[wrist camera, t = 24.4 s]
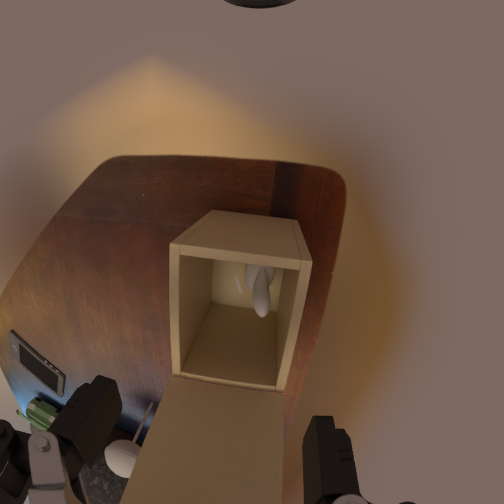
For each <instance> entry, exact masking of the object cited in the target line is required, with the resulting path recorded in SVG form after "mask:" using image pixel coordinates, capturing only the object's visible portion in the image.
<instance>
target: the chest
mask: <svg viewBox="0 0 504 504" xmlns="http://www.w3.org/2000/svg"><path fill="white" fill-rule="evenodd" d="M312 263H313V261H312V258H311V256H310V253H309V250H308V247H307V245H306V242H305V239H304V237H303V234H302V231H301V229H300V226H299V223H298V221H297V220H293V219H285V218H278V217H270V216H262V215H254V214H246V213H237V212H229V211H220V210H211V211H210V212H209V213H208V214H206V215H205V216H204V217H202V218H201V219H200V220H198V221H197V222H196V223H195V224H193V225H192V226H191V227H190V228H188V229H187V230H186V231H184V232H183V233H182V234H181V235H179V236H178V237H177V238H176V239H174V240H173V241H172V242H171V243H170V261H169V296H170V334H171V354H172V370H173V376H176V377H181V378H185V379H189V380H194V381H200V382H205V383H211V384H216V385H223V386H229V387H236V388H243V389H250V390H258V391H267V392H277V393H283V392H284V389H285V385H286V381H287V377H288V373H289V369H290V365H291V361H292V357H293V353H294V349H295V344H296V340H297V336H298V331H299V327H300V322H301V318H302V313H303V309H304V304H305V299H306V294H307V289H308V284H309V279H310V274H311V269H312ZM247 264H253V265H261V266H269V267H275V274H274V278H273V281H272V283H271V285H270V286H269V290H270V299H271V305H270V309H269V312H268V314H267V315H266V316H265V317H260V316H259V315H258V314H257V313H256V311H255V309H254V306H253V301H252V293H253V292H252V291H250V290H249V289H248V287H247V286H246V283H245V279H244V273H245V268H246V265H247ZM235 276H237V278H238V280H239V283H240V286H241V289H242V293H239V290H238V287H237V285H236V282H235V279H234V277H235Z"/></svg>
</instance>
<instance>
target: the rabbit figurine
mask: <svg viewBox="0 0 504 504" xmlns="http://www.w3.org/2000/svg"><path fill="white" fill-rule="evenodd" d="M274 274H275V267H269V266H261V265H253V264H247V265H246V268H245V273H244V279H245V283H246V286H247V287H248V289H249V290H250V291H252V292H253V293H252V301H253V306H254V309H255V311H256V313H257V314H258V315H259V316H260V317H265V316H266V315H267V314H268V312H269V309H270V305H271V299H270V290H269V286H270V285H271V283H272V281H273V278H274ZM234 279H235V282H236V285H237V287H238V290H239V293H242V289H241V286H240V283H239V280H238V278H237V276H235V277H234Z"/></svg>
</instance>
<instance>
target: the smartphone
mask: <svg viewBox="0 0 504 504" xmlns="http://www.w3.org/2000/svg"><path fill="white" fill-rule="evenodd" d="M9 339H10V353H11V356H12V357H13V358H14V359H15V360H16V361H17V362H18V363H20V364H21V365H22V366H23V367H24V368H25V369H26V370H27V371H28V372H30V373H31V374H32V375H33V376H34V377H35V378H37V379H38V380H39V381H40V382H41V383H43V384H44V385H45V386H46V387H48V388H49V389H50V390H51V391H53V392H54V393H55V394H57V395H58V396H59V397H61V398H62V396H63V392H64V382H65V375H64V374H63V373H61V372H60V371H59V370H57V369H56V368H55V367H54V366H52V365H51V364H50V363H49V362H47V361H46V360H45V359H44V358H43V357H41V356H40V355H39V354H38V353H37V352H36V351H34V350H33V349H32V348H31V347H30V346H29V345H28V344H27V343H25V342H24V341H23V340H22V339H21V338H20V337H19V336H18V335H17V334H16V333H15V332H14V331H13V330H11V331H9Z"/></svg>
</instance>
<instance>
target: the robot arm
mask: <svg viewBox="0 0 504 504" xmlns="http://www.w3.org/2000/svg"><path fill="white" fill-rule="evenodd" d="M121 411H122V401H121V397H120V394H119V390H118V386H117V383H116V381H115V380H113V379H110V378H107V377H104V376H101V375H98V376H96V377H95V379H94V380H93V382H92V383H91V384H89V383H85V384H83V385H82V386H80V387H79V388H77V389H76V391H75V392H74V393H73V395H72V396H71V399H69V400H68V401H67V403H66V405H65V406H64V407H63V408H62V410H61V411H60V413H59V414H58V415H57V417H56V418H55V420H54V421H53V422H52V424H51V425H50V427H49V428H48V429H47V430H46V431H44V430H41V431H37V432H35V433H33V434H29V433H25V432H21V431H17V430H14V428H13V427H12V425H11V424H10V423H9V422H7V421H6V420H0V474H1V473H2V474H1V476H0V504H23V503H24V501H25V499H26V497H27V495H29V501H30V504H90V503H89V500H88V497H87V493H86V490H85V487H84V483H83V480H82V476H81V473H80V470H81V469H82V467H85V468H88V469H90V470H92V468H93V466H94V464H95V462H96V460H97V458H98V456H99V454H100V452H101V450H102V448H103V446H104V445H105V443H106V441H107V439H108V437H109V435H110V433H111V431H112V430H113V428H114V426H115V424H116V422H117V420H118V418H119V417H120V414H121ZM302 453H303V482H304V504H372V503H369V502H368V501H366V500H365V499H364V498H363V497H362V495H361V494H360V491H359V485H358V479H357V473H356V467H355V461H354V456H353V451H352V445H351V440H350V437H349V436H348V434H347V433H346V431H345V430H344V429H335V425H334V419H333V417H332V416H313V417H312V419H311V422H310V424H309V426H308V429H307V431H306V433H305V436H304V439H303V445H302ZM7 462H8V463H7ZM6 464H7V465H6ZM5 466H6V467H5ZM4 467H5V468H4ZM3 469H4V470H3ZM2 471H3V472H2ZM400 504H415V503H413V502H403V503H400Z"/></svg>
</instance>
